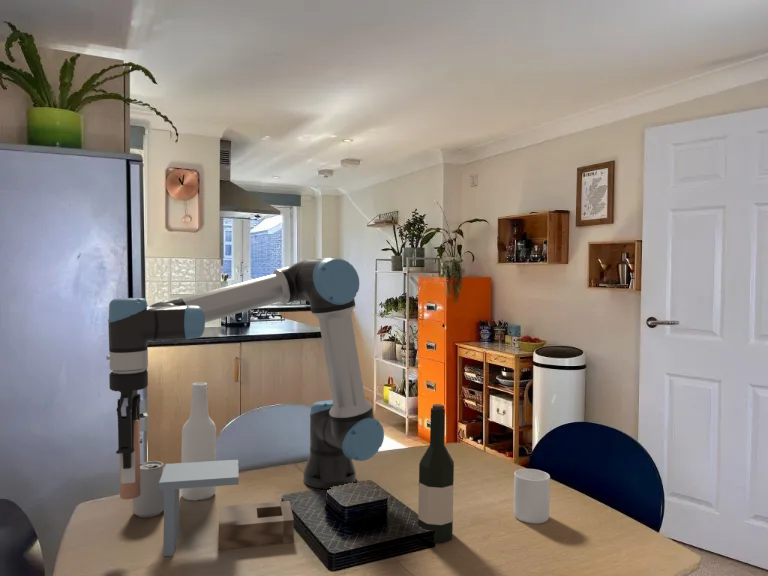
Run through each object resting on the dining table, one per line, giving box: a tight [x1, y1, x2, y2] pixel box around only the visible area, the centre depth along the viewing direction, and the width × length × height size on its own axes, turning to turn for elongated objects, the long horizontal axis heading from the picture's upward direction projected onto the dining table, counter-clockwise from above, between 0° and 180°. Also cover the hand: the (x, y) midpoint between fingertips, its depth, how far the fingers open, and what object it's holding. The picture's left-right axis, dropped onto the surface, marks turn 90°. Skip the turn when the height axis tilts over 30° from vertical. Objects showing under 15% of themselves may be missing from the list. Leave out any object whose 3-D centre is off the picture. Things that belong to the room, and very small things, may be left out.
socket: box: [217, 500, 295, 551], centre depth 129 cm, size 16×11×5 cm
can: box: [132, 460, 165, 519], centre depth 140 cm, size 8×8×12 cm
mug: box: [513, 468, 551, 525], centre depth 143 cm, size 9×12×11 cm
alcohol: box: [180, 381, 217, 502], centre depth 151 cm, size 9×9×30 cm
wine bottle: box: [417, 403, 455, 544], centre depth 130 cm, size 8×8×30 cm
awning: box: [159, 459, 240, 557], centre depth 126 cm, size 16×12×16 cm
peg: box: [119, 420, 141, 500], centre depth 122 cm, size 4×4×16 cm
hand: (130, 478), depth 122 cm, fingers closed on peg, 4 cm apart
